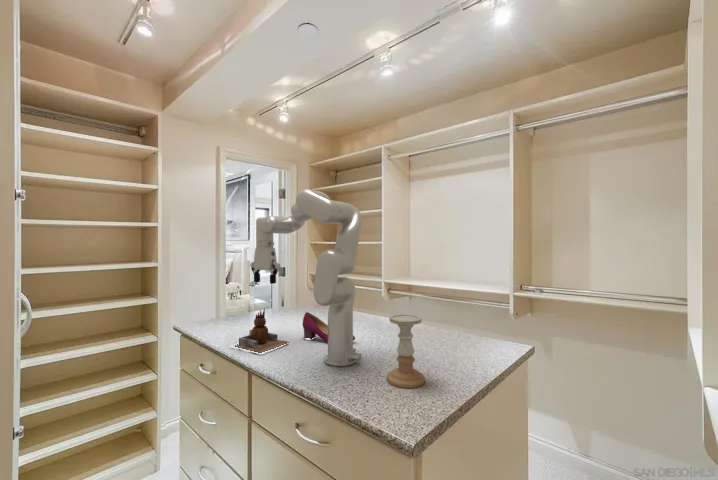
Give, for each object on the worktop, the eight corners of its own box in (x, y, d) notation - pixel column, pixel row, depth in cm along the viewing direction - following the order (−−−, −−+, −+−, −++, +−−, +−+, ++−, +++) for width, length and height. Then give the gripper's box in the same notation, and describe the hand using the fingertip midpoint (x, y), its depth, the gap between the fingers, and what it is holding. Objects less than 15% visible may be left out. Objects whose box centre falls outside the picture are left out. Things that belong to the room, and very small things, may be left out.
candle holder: (378, 380, 105) (378, 317, 105) (402, 369, 114) (402, 312, 114) (409, 392, 96) (409, 324, 96) (432, 380, 105) (432, 317, 105)
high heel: (352, 346, 140) (352, 317, 140) (297, 342, 146) (297, 314, 146) (357, 340, 148) (357, 313, 148) (305, 336, 155) (305, 310, 155)
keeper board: (288, 344, 142) (288, 330, 142) (260, 355, 128) (260, 339, 128) (258, 338, 152) (258, 325, 152) (229, 347, 138) (229, 333, 138)
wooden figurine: (270, 341, 142) (270, 307, 143) (264, 345, 137) (264, 310, 137) (255, 341, 143) (255, 307, 143) (249, 345, 137) (249, 309, 138)
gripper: (285, 244, 146) (285, 282, 145) (257, 244, 154) (257, 281, 154) (273, 244, 139) (273, 284, 139) (244, 245, 147) (244, 282, 147)
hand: (264, 282), depth 146 cm, fingers open, 9 cm apart
